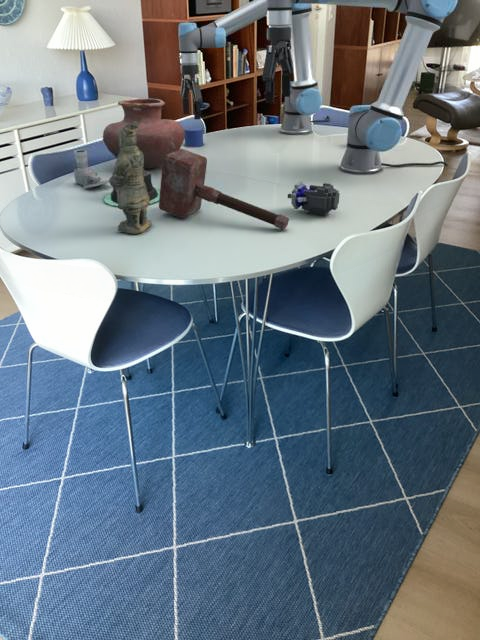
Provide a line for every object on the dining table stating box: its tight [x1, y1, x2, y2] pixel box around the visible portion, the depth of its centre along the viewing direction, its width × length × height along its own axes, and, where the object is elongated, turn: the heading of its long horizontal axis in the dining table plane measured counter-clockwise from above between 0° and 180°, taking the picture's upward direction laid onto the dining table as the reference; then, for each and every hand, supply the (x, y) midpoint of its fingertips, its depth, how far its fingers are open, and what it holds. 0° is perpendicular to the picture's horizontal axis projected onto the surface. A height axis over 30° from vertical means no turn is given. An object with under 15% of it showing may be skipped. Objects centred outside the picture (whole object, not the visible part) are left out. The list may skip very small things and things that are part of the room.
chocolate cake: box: [103, 168, 160, 207], centre depth 186 cm, size 15×19×20 cm
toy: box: [287, 180, 341, 216], centre depth 168 cm, size 9×9×15 cm
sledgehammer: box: [158, 148, 290, 231], centre depth 163 cm, size 17×10×40 cm
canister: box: [183, 126, 204, 148], centre depth 250 cm, size 8×8×7 cm
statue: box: [108, 121, 153, 235], centre depth 154 cm, size 11×9×30 cm
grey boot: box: [73, 148, 110, 189], centre depth 197 cm, size 9×12×15 cm
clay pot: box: [102, 98, 185, 169], centre depth 213 cm, size 30×30×25 cm
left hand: (191, 116), depth 245 cm, fingers open, 13 cm apart
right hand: (278, 99), depth 181 cm, fingers open, 13 cm apart
